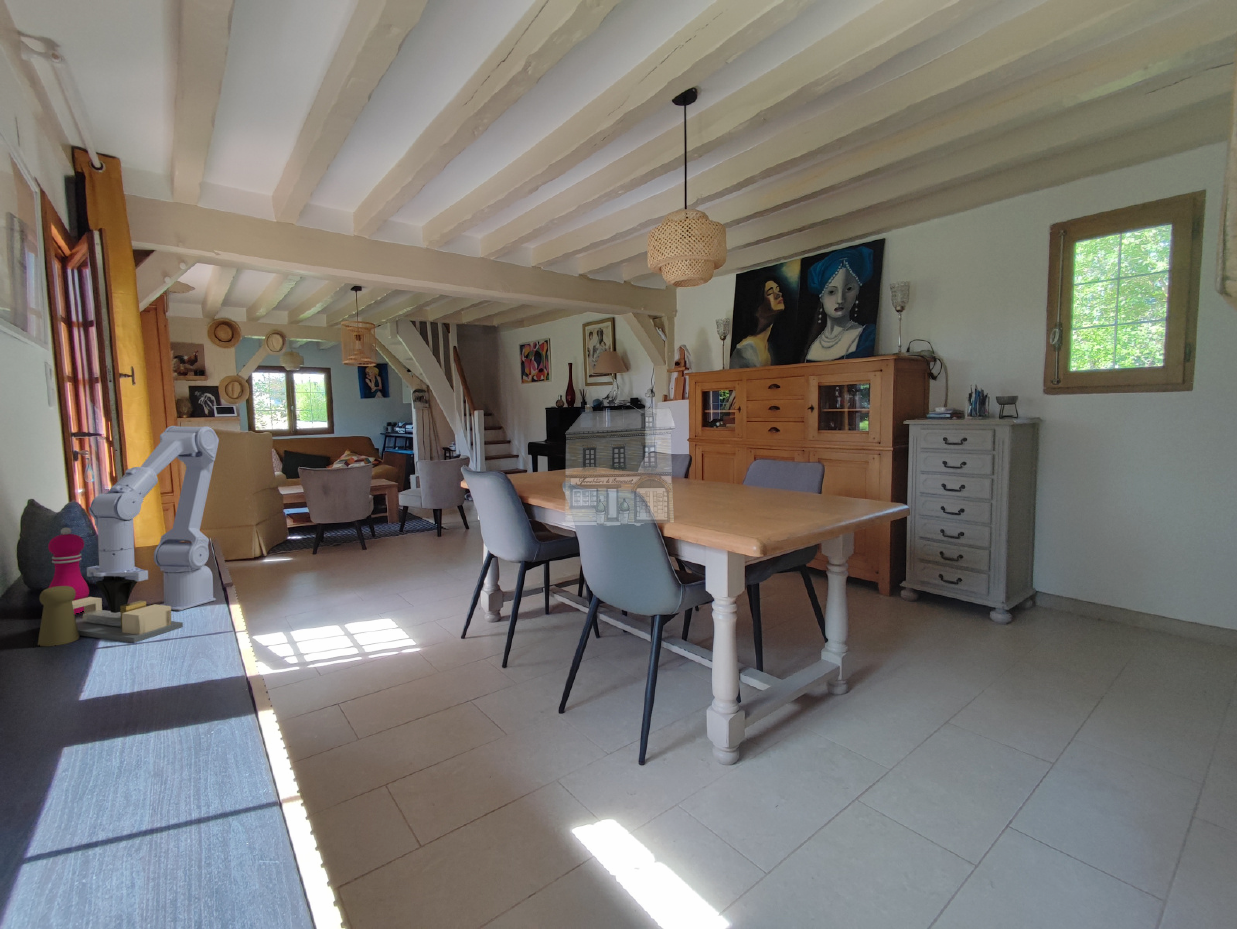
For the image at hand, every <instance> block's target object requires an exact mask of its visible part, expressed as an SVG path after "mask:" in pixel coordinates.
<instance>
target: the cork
mask: <svg viewBox="0 0 1237 929" xmlns="http://www.w3.org/2000/svg"><path fill="white" fill-rule="evenodd" d="M75 595H76V592H75V590H74V588H72V587H70V586H57V587H51V588H49V587H47V588H46V589H43V590H42V591H41V593H40V594H39V602H40V604H41V605H43V607H42V616H41V620H40V621H41V622H40V627H39V628H40V629H39V633H38V638H37V639H38V640H37V646H39V645H40V646H39V647H54V646H55V645H56V646H62V645H66V644H70V643H73V642H75V641H78V640H80V639H79V638H80V635H79V634H78V629H77V624H76V619H75V618H76V616H75V615H76V614H74V609H73V605H72V601H73V600H74V598H75Z"/></svg>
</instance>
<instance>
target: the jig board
mask: <svg viewBox="0 0 1237 929" xmlns="http://www.w3.org/2000/svg"><path fill="white" fill-rule="evenodd" d="M72 605H73V609H75V608H79V607H83V606H84V612H83V614H84V613H87V612H91V611H95V610H103V606H102V605H103V601H102V597H93V596H87V598H83V599H79V600H75V601H72ZM75 619H76V624H77V629H78V634H79V636H82V637H90V638H97V639H104V640H110V641H119V642H124V643H126V642H127V643H138V642H140V641H141V642H142V641H145V640H147V639H150V638H154V637H156V636H159V635H162V634H166V633H168V632H171V631H175V630H177V629H180V628H183V625H184V624H183V623H184V622H181V621H176V620H175V621H173V620H172V610H171V606H165V605H159V604H157V603H156V604H155V603H154V604H152V605H151V604H150V605H148V606H147V605H146V607H143V608H140V609H136V610H132V611H129V612H125V613H122V628H121V627H119V626H111V625H103V624H96V623H88V622H83V615H81V616H77V617H76V616H75Z"/></svg>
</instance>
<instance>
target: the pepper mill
mask: <svg viewBox="0 0 1237 929" xmlns="http://www.w3.org/2000/svg"><path fill="white" fill-rule="evenodd" d="M47 546H48V551H49V552H50V553H51V554H52V555H53V556H52V557H51V559H52V561H51V563H52V564H54V574H53V578H52V580H51V582H50V585H49V586H48V588H51V587H57V586H70V587H72V588H74V590H75V592H76V595H75V598H74V600H73V601H75V600H79V599H83V598H88V597H89V595H90V588H89V586H88V583H87V581H86V580H85V578H84V577H83V576H82V572H81V568H80V561H81V560H83V558H82V553H81V551H82V550H83V549H84V547H85V540H84V539H83V537H81V536H80V535H78V534H75V533H72V529H71V528H69V527H63V528H62V529H60V534H59V535H57V536H54V537H52V539H50V541H49V543H48V545H47ZM82 611H84V606H83V607H79V608H75V609H74V614H75V615H77V614H76V613H79V614H81V613H80V612H82ZM82 613H83V612H82Z"/></svg>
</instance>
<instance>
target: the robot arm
mask: <svg viewBox="0 0 1237 929" xmlns="http://www.w3.org/2000/svg"><path fill="white" fill-rule="evenodd" d="M219 443H220V439H219V437H218V435H217V434H216V431H215V430H214V429H213V428H212V427H210V426H207V425H206V426H177V425H170V426H168V427H166V429H164V431H163V432H162V433H160V434H159V444H158V445H156V447H155V448H154V450H153V451H152V452H151V453H150V454H149V456H148V457H147V459H145V461H144V462H142V464H141V465H140V466H134V467H131V468H128V469H126V470H125V472H124V475H123V476H121V478H120V479H118V481H117V482H116V483H114V484H113V485H112V486H111V487H110V489H109V490H108V491H107V492H103V493H100V494H98V495H96V496H95V497H94V498H93V499H92V501H91V502H90V506H89V507H88V512H89V514H90V516H91V517H92V518H93V520H94V526H95V527H96V528H97V539H98V540H97V545H98V565H95V566H94V565H93V566H89V567H86V577H98V578H99V577H100V578H102V580H97V581H96V582H95V585H96V587H97V588H99V590H100V591H101V592H102V594H103V596H104V598H105V600H106V603H107V606H108V609H109V611H111V612H112V613H117V612H121V610H120V606H122V605H125V604H129V599H130V596H131V594H132V591H134V590H133V589H134V588H135V587H136V585H137V583H138V582H143V581H146V580H149V570H148V569H147V570H146V569H141V568H139V567H137V566H136V564H135V537H134V532H135V530H134V529H135V527H134V518H136V517H137V516H138V515H139V514H140V512H141V509H142V504H143V502H144V500H145V499H144V498H145V497H147V495H148V494H149V493H150V491H152V490H153V488H154V487H155V486H157V484H158V481H159V479H158V476H157V475H159V474H160V473H161V472H162V471H163V470H165V468H166V467H168V466H169V464H171V462H173V461H174V460H175V459H176V458H177V460H179V461H180V462H181V463H183V464H184V465H185V466H186V468H185V471H184V472H185V473H184V477H183V481H182V486H181V491H180V493H179V494H180V495H179V498H178V503H177V506H176V512H175V515H174V516H175V517H174V522H173V526H172V528H171V529H169V530H168V531H167V532H166V533H164V534H163V535H161V537H160V540H159V543H158V545H157V546H156V548H155V549H154V552H153V561H154V564H155V565H156V566H157V567H159V569H160V570H159V571H160V572H162V573H163V574H162V575H163V603H161V604H158V605H165V606H171V611H182V610H187V609H190V608H193V607H196V606H200V605H204V604H207V603H210V602H213V601H216V600H217V598H215V597H214V583H213V582H214V579H213V578H214V577H213V576H214V575H213V572H212V571H211V568H210V567H208V566H207V565H205V564H207V562H208V559H209V556H210V550H209V542H210V539H209V537H207V536H206V535H205V534H204V533H203V532H202V531H201V525H202V522H203V516H204V511H205V506H206V502H207V498H208V492H209V488H210V483H211V479H212V473H213V468H214V463H215V461H216V456H217V452H218V446H219Z"/></svg>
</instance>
